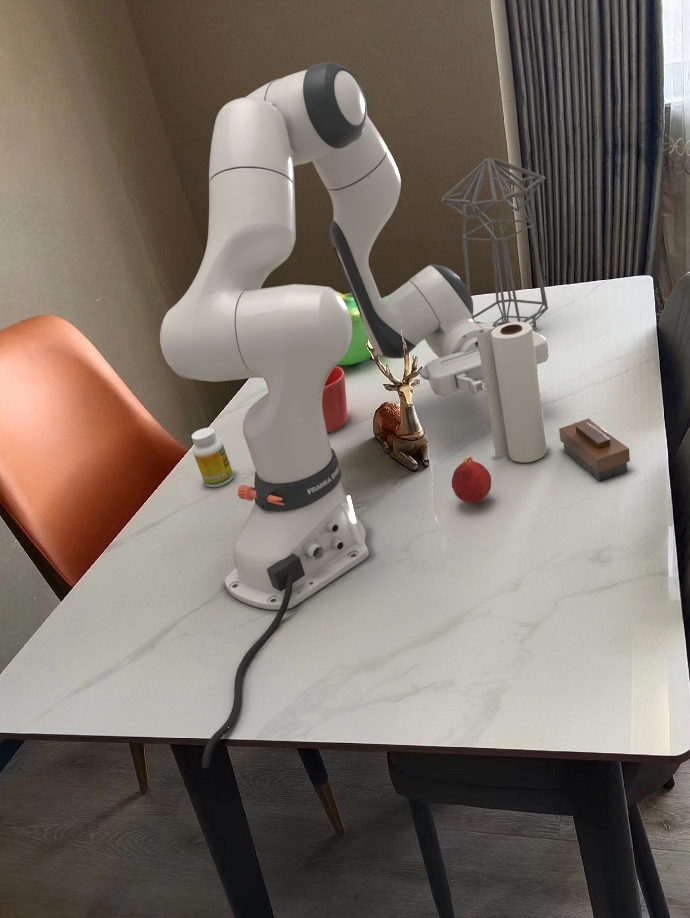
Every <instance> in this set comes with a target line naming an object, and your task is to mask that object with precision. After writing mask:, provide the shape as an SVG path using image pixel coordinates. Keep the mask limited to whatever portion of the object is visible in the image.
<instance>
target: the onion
mask: <svg viewBox="0 0 690 918" xmlns="http://www.w3.org/2000/svg"><path fill="white" fill-rule="evenodd" d="M451 488H452V490H453V493H454V495H455V496H456V497H457V499H459V500H460V501H462V502H464V503H467V504H470V505H471V504H472V505H477V504H479V503H480V501H483V500H484V499H485V498H486V497H487V495H489V493H490V491H491V489H492V477H491V474H490V472H489V470H488V469H487V468H486V467H485V466H484V465H483V464H481V463H479V462H477V461H474V458H473V456H470V455H467V456H465V457H464V459H463V461H462V463H460V464H459V465H458V466H457V467H456V468H455V470H454V472H453V474H452V477H451Z"/></svg>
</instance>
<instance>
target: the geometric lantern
mask: <svg viewBox="0 0 690 918" xmlns="http://www.w3.org/2000/svg"><path fill="white" fill-rule="evenodd" d="M486 166H487V177H485V178H484V174H485V169H486ZM508 169H510V170H512V171H515V172H518V173H521V174H524V175H527V176H529V177H524V178H520V176H518V175H516V174H514V173H513V172H512V171H510V170H508ZM493 171H494V173H495V175H496V177H494V175H493ZM503 177H504V178H503ZM469 179H470V180H469ZM515 179H516V180H517V181H516V180H515ZM467 180H469V181H468V183H467V184H466V185H465V187H464V188H463V190H462V191H461V192H458V193H454V192H455V191H457V189H459V188H460V187H461V186H462V185H463V184H464V183H465V182H466V181H467ZM487 180H489V184H490V190H491V197H492V198H491V199H485V200H480V201H477V200H478V197H479V194H480V192H481V188H482V185H483V182H484V181H487ZM533 180H534V181H533ZM544 180H546V177H545V176H544V175H541V174H539V173H537V172H534V171H531V170H528V169H525V168H524V167H520V166H518V165H515V164H513V163H510V162H507V161H505V160H502V159H499V158H496V157H492V158H491V157H488V158H484V160H483V161H482V162H481V163H480V164H479V165H477V166H476V167H475V168H474V169H473V170H472V171H471V172H469V173H468V174H467V175H466V176H465V177H463V178H462V179H461V180H460V181H459V182H458V183H457V184H455V186H453V187H451V189H450V190H448V191H447V192H446V193H445V194H444V195H443V196H442V197H441V199H440V201H441V202H440V203H444V204H445V205H447V206H448V207H449V208H451V209H452V210H453V211H455V212H456V213H457V214H459V215H460V216H462V228H461V236H460V238H461V241H462V242H461V244H462V253H463V260H464V261H463V262H464V269H465V275H466V276H465V278H466V287H467V289H468V291H469V293H470V295H471V296H472V291H471V290H472V289H471V283H470V272H469V258H468V255H469V254H468V241H467V240H469V241H482V242H491V243H490V244H491V253H492V265H493V278H494V288H495V302H493V303H492V304H490V305H488V306H487V307H485V308H484V309H482V310H481V311H479V312H477V313H475V314H473V316H472V319H473V320H474V321H475V323H478V324H480V323H483V321H476V320H475V318H477V317H478V316H480V315H482V314H483V313H485V312H487V311H488V310H490V309H492V308H493V307H495V306H496V305H497V307H498V309H499V312H500V315H501V317H499V318H498V319H496V320H495V321H494V322H493V323H499V321H501V322H506V321H510V320H509V319H516V321H517V322H525V323H529V324H530V325H531V326H532V328H534V329H532V330H533V331H535V332H536V331H537V330H538V327H537V326H538V325H537V320H538V319H540V317H542V315H544V314H545V313H546V312H547V311H548V309H549V306H548V300H547V294H546V289H545V284H544V280H543V274H542V269H541V264H540V258H539V253H538V247H537V240H536V239H537V238H536V234H535V233H536V232H535V226H534V225H535V224H534V220H533V217H532V212H531V208H530V205H529V201H531V198H532V197H533V195H534V194H535V193H536V191H537V190H538V189H539V187H540V185H541V184H542V182H543V181H544ZM527 181H532V183H531V184H529V186H527V187H526V182H527ZM502 184H503V185H502ZM508 184H510V186H512V188H510V186H509V185H508ZM495 186H497V187H498V188H500V190H501V193H502V197H501V199H498V198H497V192H496V187H495ZM515 187H517V188H518V189H519V191H516V192H515ZM531 189H532V190H531ZM530 190H531V191H530ZM529 191H530V193H529V194H528V192H529ZM453 193H454V194H453ZM470 193H471V200H468V199H467V198H468V196H469V195H470ZM505 193H506V194H505ZM457 197H461V199H460V198H459V199H458V198H457ZM524 197H525V200H524V202H523V200H522V198H524ZM456 198H457V199H456ZM512 198H514V199H515V200H514V201H515V204H516V206H515V205H514V204H513V203H512V202H511V199H512ZM500 202H504V203H505V205H504V207H503V209H502V211H501V214H500V216H499V218H498V219H495V220H491V219H490V218H489V217H488V216H487V215H486V214H485V213H484V212H485V211H487V210H488V209H489V208H490V207H491V206H493V204H495V203H500ZM519 202H520V205H519ZM485 204H486V205H485ZM454 205H455V206H454ZM479 205H485V206H484V207H483V208H481V209H480V208H479V207H478V206H479ZM456 206H457V207H461V210H460V209H458V208H457V207H456ZM508 206H509V207H510V208H511V209H512V210H511V211H510V214H509V217H508V219H503V217H504V216H505V213H506V210H507V209H508ZM469 207H470V208H471V209H472V212H473V214H471V215H467V214H466V212H467V210H466V208H469ZM525 207H526V208H525ZM475 208H476V209H477V210H478V213H476V210H475ZM521 209H522V210H523V212H524V215H525V218H526V219H511V218H512V216H513V214H514V212H520V210H521ZM481 215H482V216H483V217H484V218H485V219H486V220H487V222H484V221H483V219H482V217H480V216H481ZM471 219H477V220H478V221H479V222H480V224H481V225H480V226H477V227H476V228H473V229H472V230H469V231H468V232H467V224H466V223H467V220H471ZM502 222H503V223H506V224H505V226H504V228H502ZM509 223H528V224H529V225H527V226H525V227H524V228H522V229H520V230H518V231H516V232H514V233H512V234H510V235H508V236H507V237H504V234H505V232H506V230H507V227H508V225H509ZM493 224H498V229H499V237H496V236H495V234H494V225H493ZM488 225H489V227H488ZM483 227H484V229H485V230H486V231H487V232H488V234H489V235H490V238H479V237H467V236H468V235H470V234H472V233H474V232H476V231H478V230H480V229H482V228H483ZM528 229H529V230H530V236H531V241H532V245H533V251H534V257H535V264H536V271H537V277H538V284H539V290H540V291H539V292H540V297H541V301H536V300H527V299H517V295H516V294H517V293H516V288H515V282H514V277H513V270H512V266H511V260H510V255H509V249H508V243H507V240H508V239H511V238H513V237H514V236H516V235H518V234H521V233H522V232H524V231H526V230H528ZM498 242H500V246H501V252H502V261H503V266H504V273H505V281H506V288H507V297H508V299H505V296H504V295H505V294H504V287H503V279H502V272H501V263H500V254H499V248H498ZM498 283H499V285H498ZM499 290H500V298H501V299H500V298H499ZM511 292H512V295H511ZM499 299H500V300H499ZM506 303H508V305H507V311H506ZM511 303H514V310H515V314H516V315H509V314H510V307H511ZM518 303H520V304H521V303H522V304H533V305H540V307H539V308H538V309H537V312H535V313H533V314H531V315H530V316H524V315H523V316H520V312H519V305H518ZM500 304H501V305H500ZM501 306H502V307H501ZM543 307H544V308H543ZM521 319H523V320H521ZM530 320H531V321H530ZM528 321H530V322H528ZM488 324H490V323H489V322H488Z"/></svg>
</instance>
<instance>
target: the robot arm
mask: <svg viewBox="0 0 690 918" xmlns="http://www.w3.org/2000/svg"><path fill="white" fill-rule="evenodd" d="M364 93H365V92H364V90H363V88H362V86H361V84H360V82H359V80H358V78H357V77H356V75H355V74H354V73H353V72H352V71H350V69H348V68H346V67H345V66H343V65H342V64H340V63H339V62H336V61H327V62H321V63H316V64H313V65H311V66H309V67H308V68H307V69H304V70H301V71H298V72H294V73H292V74H288V75H285V76H283V77H281V78H275V79H273V80H271V81H269V82H268V83H265V84H264V85H262V86H260V87H258V88H257V89H255V90H253V91H252V92H251V93H249V94H248V95H245V96H241V97H239V98H236V99H232V100H230V101H228V102H227V103H226V104H224V105H223V106H222V107H221V109H220V110H219V111H218V113H217V115H216V118H215V121H214V126H213V131H212V137H211V143H210V144H211V145H210V154H209V164H208V165H209V169H208V207H209V208H208V227H207V228H208V229H207V230H208V232H207V242H206V247H205V251H204V255H203V259H202V261H201V264H200V266H199V269H198V271H197V273H196V275H195V277H194V279H193V281H192V283H191V284H190V286H189V288H188V289H187V291H186V292H185V293H184V295H182V297H181V298H180V299H179V300H178V301H177V302H176V303H175V304H174V305H173V306H172V307H171V308H169V309H168V311H167V312H166V313H165V315H164V318H163V320H162V323H161V326H160V332H159V344H160V349H161V352H162V355H163V357H164V359H165V361H166V363H167V365H168V366H169V367H170V368H171V370H172V371H173V372H174V373H175V374H176V375H177V376H179V377H180V378H182V379H186V380H195V381H204V382H211V383H217V382H218V383H219V382H226V381H228V382H229V381H235V380H236V381H238V380H246V379H256V378H257V379H263V380H264V381H265V384H266V386H267V392H268V393H266V394H264V395H263V396H262V397H261V398H259V399H258V400H257V401H255V402H254V403H253V404H252V405H251V406H250V407H249V409H248V410H247V412H245V413H246V414H245V416H244V419H243V422H242V434H243V437H244V440H245V443H246V446H247V448H248V452H249V455H250V457H251V460H252V464H253V467H254V470H255V471H254V484H253V485H254V486H248V485H247V484H241V485H239V486H238V488H237V492H236V493H237V496H238V498H239V499H241V500H246V501H248V502H252V501H253V500H254V504H253V506H252V508H251V509H250V513H249V514H248V516H247V518H246V520H245V522H244V524H243V527H242V528H241V530H240V532H239V534H238V536H237V538H236V540H235V542H234V544H233V549H232V550H233V553H232V554H233V559H234V565H235V567H234V568H233V569H232V570H231V572H229V574H228V575H227V576H226V577H225V579H224V585H225V588H226V591H227V592H228V593H229V594H230V595H231V596H232V597H233V598H234V599H236V600H238V601H240V602H242V603H244V604H247V605H249V606H252V607H254V608H255V607H256V608H259V609H264V610H272V611H277V613H276V615H275V617H274V619H273V620H272V622H271V624H270V625H269V627H267V629H266V630H265V632H264V633H263V634H262V635H261V636H260V637H259V638H258V640H256V642H255V643H253V645H252V646H251V647H250V648H249V649H248V650H247V651H246V652H245V654H244V656H243V657H242V659H241V661H240V663H239V664H238V666H237V669H236V673H235V677H234V687H233V688H234V689H233V701H232V702H233V703H232V707H231V711H230V714H229V715H228V718H227V719H226V721H225V722H224V724H223V725H221V727H219V728H218V730H216V731H215V732H214V733H213V735H211V737H210V739H209V740H208V742H207V743H206V745H205V747H204V751H203V754H202V760H201V767H202V769H207V768H208V767H209V766H210V764H211V760H212V754H213V753H214V749H215V747H216V745H217V744H218V742H219V741H220V740H221V739H222V738H223V737H224V736H225V735H226V734H227V733H228V732H229V731H230V730H231V728H232V727H233V726H234V725H235V724H236V721H237V719H238V717H239V713H240V710H241V705H242V690H243V689H242V688H243V687H242V686H243V678H244V674H245V671H246V669H247V666H248V664H249V663H250V661H251V660H252V658H253V657H254V656H255V654H256V653H257V652H258V651H259V650H260V649H261V648H262V646H263V645H265V643H266V642H267V641H268V639H269V638H270V637H272V635H273V634H274V633H275V632H276V630H277V628H278V627H279V625H280V623H281V622H282V621H283V618H284V616H285V614H286V612H287V610H289V609H293V608H294V607H296V606H297V605H298V604H299V605H300V603H302V602H303V601H305V600H306V599H308V598H309V597H311V596H312V595H314V594H315V593H316V592H319V590H322V589H323V588H324V587H326V586H327V585H329V584H330V583H332V582H333V581H334V580H336V579H338V578H340V576H342V575H344V574H345V573H347V572H348V571H350V570H351V569H352V568H354V567H356V566H357V565H359V564H360V563H361V562H363V561H365V560H367V558H368V557H369V556H370V552H369V549H368V546H367V544H366V538H367V531H366V528H365V526H364V525H363V523H362V522H361V521H360V519H359V517H358V516H357V514H356V512H355V510H354V506H353V503H352V499H351V496H350V495H347V493H346V490H345V487H344V485H343V482H342V470H341V466H340V463H339V459H338V456H337V454H336V451H335V449H333V447H331V443H330V439H329V435H328V432H327V430H326V426H325V421H324V416H323V409H322V395H323V389H324V386H325V383H326V380H327V378H328V376H329V374H330V373H331V371H332V370H333V369H334V367H335V366H338V365H337V364H338V363H339V362H340V361H341V360H342V358H343V357H344V356H345V354H346V352H347V350H348V348H349V346H350V343H351V339H352V319H351V315H350V312H349V309H348V307H347V305H346V304H345V302H344V300H343V299H342V298H341V296H340V295H339V294H338V293H337V292H338V291H336V290H335V289H333V288H332V287H330V286H323V285H314V284H299V283H292V284H286V285H278V286H271V287H264V288H262V286H263V285H264V282H265V281H266V279H267V278H268V277H269V275H271V273H272V272H273V271H275V270H276V269H277V268H278V267H280V266H281V265H282V264H283V263H284V262H286V261H287V259H288V258H289V257H290V256H291V253H292V252H293V250H294V247H295V244H296V240H297V229H296V226H297V225H296V187H295V186H296V185H295V184H296V183H295V169H294V167H297V166H300V165H306V164H309V163H311V162H312V164H313V167H314V169H315V171H316V173H317V174H318V177H319V178H320V180H321V182H322V183H323V185H324V187H325V188H326V190H327V192H328V194H329V197H330V199H331V204H332V211H333V212H332V213H333V219H332V221H331V224H330V226H329V228H328V230H329V236H330V240H331V244H332V247H333V250H334V252H335V256H336V259H337V260H338V263H339V265H340V268H341V271H342V274H343V276H344V278H345V281H346V283H347V286H348V288H349V291H350V293H352V295H353V298H354V300H355V303H356V305H357V308H358V310H359V313H360V316H361V319H362V322H363V325H364V329H365V333H366V336H367V338H368V340H369V342H370V344H371V345H372V347H373V348H374V349H375V350H376V351H377V352H376V353H377V354H379V355H380V357H382V358H387V359H404V358H405V357H404V350H403V342H402V336H401V330H402V335H403V338H404V340H405V342H406V345H407V348H408V354H410V353H411V352H412V351H413V350H414V349H415V348H416V347H417V345H419V344H420V343H422V342H423V341H425V342H426V345H428V348H429V349H430V350H431V351H432V353H434V355H436V357H438V358H435V359H432V360H430V361H429V362H427V364H426V365H424V368H421V369H420V370H419V371H418V374H419V376H420V377H421V378H422V379H423V380H426V381H428V384H429V387H430V388H431V390H432V392H433V393H434V394H435V395H436V396H447V395H449V394H453V393H455V392H459V391H465V392H466V391H469V392H471V393H472V394H477V393H480V392H483V391H484V388H483V384H484V378H483V372H482V366H481V360H480V353H479V347H478V341H477V335H479V334H482V333H485V332H487V331H489V330H490V329H492V328H494V327H497V326H500V325H503V324H506V323H511V322H518V320H509V321H506V322H502V321H501V322H497V323H494V322H492V323H489V322H488V323H489V324H488V323H487V322H482V323H480V324H478V323H475V321H476V320H475V319H474V320H473V319H472V316H474V300H473V298H472V294H471V295H470V293H469V291H468V289H467V285H466V284H465V283H464V281H463V280H462V279H461V278H460V277H459V276H458V275H457V274H456V273H455V272H454V271H453V270H451V269H450V268H448V267H446V266H443V265H440V264H429V265H428V266H426V267H424V268H423V269H421V270H420V271H419V272H417V273H416V274H415V275H413V276H412V277H410V278H409V279H408V280H407V281H406V282H405V283H404V284H402V285H401V286H400V287H398V288H397V289H395V290H394V291H393V292H392V293H390V294H388V295H389V296H388V295H387V296H388V297H386V296H385V297H386V298H384V297H383V298H384V299H381V298H382V296H381V294H380V292H379V289H378V286H377V284H376V282H375V279H374V276H373V274H372V271H371V268H370V265H369V258H370V254H371V251H372V247H373V246H374V243H375V242H376V240H377V238H378V236H379V234H381V232H382V230H383V228H384V227H385V226H386V224H387V223H388V221H389V220H390V218H391V217H392V216H393V214H394V212H395V209H396V207H397V206H398V202H399V199H400V194H401V189H402V184H401V183H402V180H401V174H400V172H399V169H398V166H397V164H396V162H395V160H394V158H393V155H392V154H391V152H390V149H389V148H388V145H387V144H386V143H385V142H386V141H384V139H383V137H382V136H381V133H380V131H378V129H377V128H376V126H375V124H374V123H373V122H372V120H371V119H370V117H369V116H368V108H367V106H368V105H367V100H366V96H365V94H364ZM533 330H534V329H532V332H533V340H534V348H535V357H536V365H537V366H538V365H539V364H544V363H546V362H547V361H548V359H549V356H550V355H549V353H550V352H549V345H548V341H547V339H546V338H545V337H544V336H543V335H541V334H540V333H538V332H537V331H536V330H535V331H533ZM538 372H539V371H538V368H537V373H538ZM228 727H229V728H228ZM223 734H224V735H223ZM214 744H216V745H214Z"/></svg>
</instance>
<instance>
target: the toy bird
mask: <svg viewBox="0 0 690 918" xmlns="http://www.w3.org/2000/svg"><path fill="white" fill-rule="evenodd" d="M336 292H337V293H338V294H339V295H340V296H341V298H342V299H343V300H344V302H345V304H346V305H347V307H348V309H349V312H350V315H351V319H352V339H351V343H350V346H349V348H348V350H347V352H346V354H345V356H344V357H343V358H342V360H341V361H340V362H339V363H338V364H337V365H336V366H350V365H356V364H359V363H362V362H365V361H366V360H368V359H370V358H371V357H372V356H371V353H370V352H369V350H368V349H367V346H366V344H367V343H368V338H367V336H366V333H365V329H364V325H363V322H362V319H361V316H360V313H359V310H358V308H357V305H356V303H355V300H354V298H353V295H352V293H351V292H350V293H345V294H342V293H341V292H339V291H336ZM389 295H390V294H388V295H386V296H384V297H381V299H384V298H386V297H388V296H389Z"/></svg>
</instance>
